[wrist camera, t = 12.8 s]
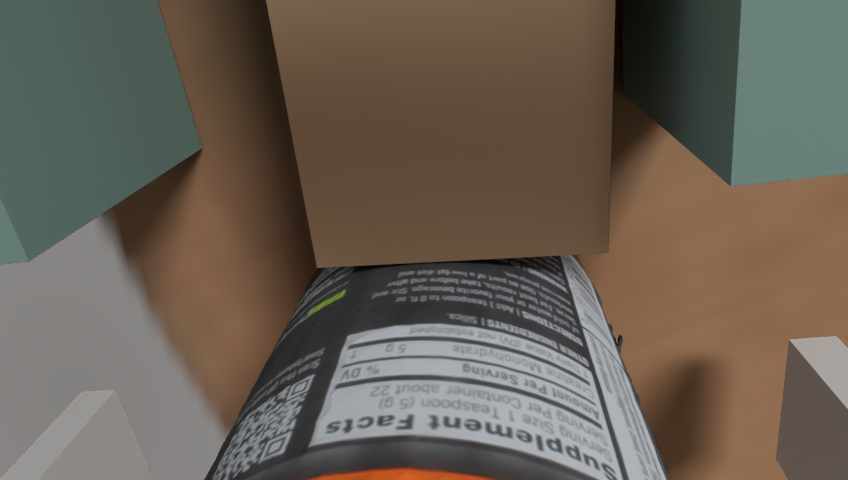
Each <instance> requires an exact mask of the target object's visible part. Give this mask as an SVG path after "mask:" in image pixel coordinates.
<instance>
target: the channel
mask: <svg viewBox="0 0 848 480" xmlns="http://www.w3.org/2000/svg"><path fill="white" fill-rule="evenodd" d="M622 24H623V90H624V94H625V95H626V96H627V97H628V98H629V99H630V100H632V101H633V102H634V103H635V104H636V105H637V106H638V107H640V108H641V109H642V110H643V111H644V112H645V113H647V114H648V115H649V116H650V117H651V118H652V119H653V120H655V121H656V122H657V123H658V124H659V125H660V126H662V127H663V128H664V129H665V130H666V131H667V132H669V133H670V134H671V135H672V136H673V137H674V138H675V139H677V140H678V141H679V142H680V143H681V144H682V145H684V146H685V147H686V148H687V149H688V150H689V151H690V152H692V153H693V154H694V155H695V156H696V157H697V158H699V159H700V160H701V161H702V162H703V163H704V164H706V165H707V166H708V167H709V168H710V169H711V170H712V171H714V172H715V173H716V174H717V175H718V176H719V177H721V178H722V179H723V180H724V181H725V182H726V183H727V184H729V185H730V186H738V185H747V184H757V183H766V182H776V181H785V180H794V179H804V178H813V177H822V176H832V175H841V174H848V0H622ZM200 149H202V146H201V143H200V140H199V136H198V133H197V130H196V127H195V123H194V120H193V117H192V113H191V110H190V107H189V103H188V100H187V97H186V93H185V90H184V87H183V84H182V80H181V77H180V74H179V70H178V67H177V64H176V60H175V57H174V54H173V51H172V47H171V44H170V41H169V37H168V34H167V31H166V27H165V24H164V21H163V17H162V14H161V11H160V8H159V4H158V1H157V0H0V264H9V263H18V262H28V261H30V260H32V259H33V258H35V257H37V256H38V255H40V254H41V253H43V252H44V251H46V250H47V249H49V248H50V247H52V246H53V245H55V244H56V243H58V242H59V241H61V240H62V239H64V238H65V237H67V236H68V235H70V234H72V233H73V232H75V231H76V230H78V229H79V228H81V227H82V226H84V225H85V224H87V223H88V222H90V221H92V220H93V219H95V218H96V217H98V216H99V215H101V214H102V213H104V212H105V211H107V210H108V209H110V208H111V207H113V206H114V205H116V204H118V203H119V202H121V201H122V200H124V199H125V198H127V197H128V196H130V195H131V194H133V193H134V192H136V191H137V190H139V189H140V188H142V187H143V186H145V185H147V184H148V183H150V182H151V181H153V180H154V179H156V178H157V177H159V176H160V175H162V174H163V173H165V172H166V171H168V170H169V169H171V168H173V167H174V166H176V165H177V164H179V163H180V162H182V161H183V160H185V159H186V158H188V157H189V156H191V155H192V154H194V153H195V152H197V151H199V150H200Z"/></svg>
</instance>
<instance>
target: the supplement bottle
mask: <svg viewBox="0 0 848 480" xmlns="http://www.w3.org/2000/svg"><path fill="white" fill-rule="evenodd" d="M622 340H623V337H622V336H621V335H619V337H618V344H617V343H616V338H615V337H614V336H613V331H612V325H611V324H608V323H607V320H606V318H605V315H604V312H603V307H602V302H601V299H600V297H599V294H598V292H597V290H596V289H595V287H594V285H593V283H592V282H591V280H590V278H589V276H588V274H587V272H586V269H585V267H584V265H583V264H582V262H581V261H580V260H579V258H578V256H577V255H561V256H541V257H522V258H502V259H482V260H463V261H443V262H424V263H404V264H384V265H365V266H345V267H326V268H317V269H316V271H315V273H314V274H313V276H312V278H311V280H310V282H309V284H308V285H307V287H306V289H305V292H304V294H303V296H302V298H301V300H300V301H299V303H298V305H297V307H296V309H295V311H294V313H293V314H292V316H291V318H290V320H289V322H288V324H287V326H286V328H285V330H284V331H283V333H282V335H281V337H280V338H279V340H278V342H277V344H276V346H275V348H274V350H273V352H272V354H271V356H270V358H269V359H268V361H267V363H266V364H265V366H264V368H263V370H262V372H261V374H260V376H259V378H258V380H257V382H256V383H255V385H254V387H253V388H252V390H251V393H250V394H249V396H248V398H247V400H246V402H245V404H244V406H243V407H242V409H241V411H240V414H239V416H238V418H237V420H236V422H235V424H234V426H233V428H232V429H231V431H230V433H229V435H228V436H227V438H226V440H225V442H224V443H223V445H222V447H221V449H220V451H219V453H218V456H217V458H216V460H215V462H214V464H213V465H212V467H211V469H210V471H209V472H208V474H207V476H206V478H205V480H669V478H668V476H667V469H666V465H665V463H664V461H663V459H662V457H661V455H660V453H659V451H658V447H657V443H656V438H655V436H654V434H653V432H652V430H651V428H650V426H649V424H648V422H647V421H646V419H645V415H644V413H643V411H642V409H641V407H640V401H639V397H638V395H637V393H636V392H635V389H634V386H633V384H632V380H631V378H630V376H629V374H628V372H627V370H626V367H625V365H624V363H623V361H622V358H621V345H622Z"/></svg>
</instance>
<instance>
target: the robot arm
mask: <svg viewBox="0 0 848 480" xmlns="http://www.w3.org/2000/svg"><path fill="white" fill-rule="evenodd" d="M776 460H777V462H778V463H779V465H780V466H781V468H782V470H783V471H784V473H785V475H786V476H787V478H788V480H848V348H847V347H846V346H845V345H844V344H843V343H842V342H841V341H840V340H839V339H838V338H837V337H836V336H830V337H817V338H803V339H790V340H789V345H788V355H787V364H786V373H785V382H784V391H783V400H782V409H781V418H780V427H779V436H778V446H777V455H776ZM0 480H154V478H153V476H152V473H151V471H150V468H149V466H148V464H147V461H146V459H145V457H144V455H143V452H142V450H141V448H140V445H139V443H138V441H137V438H136V436H135V434H134V431H133V429H132V427H131V424H130V422H129V420H128V418H127V415H126V413H125V410H124V408H123V406H122V403H121V401H120V399H119V396H118V394H117V392H116V390H102V391H89V392H81V393H80V394H79V395H78V396H77V397H76V398H75V399H74V401H73V402H72V403H71V404H70V405H69V406H68V407H67V408H66V409H65V410H64V411H63V412H62V414H60V415H59V417H58V418H57V419H56V420H55V421H54V422H53V423H52V424H51V425H50V426H49V427H48V428H47V429H46V430H45V431H44V433H43V434H42V435H41V436H40V437H39V438H38V439H37V440H36V441H35V442H34V443H33V444H32V445H31V446H30V447H29V449H28V450H27V451H26V452H25V453H24V454H23V455H22V456H21V457H20V458H19V459H18V460H17V461H16V463H15V464H14V465H13V466H12V467H11V468H10V469H9V470H8V471H7V472H6V473H5V474H4V475H3V476H2V477H1V478H0Z"/></svg>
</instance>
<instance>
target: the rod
mask: <svg viewBox="0 0 848 480" xmlns="http://www.w3.org/2000/svg"><path fill="white" fill-rule="evenodd" d="M266 3H267V8H268V13H269V19H270V24H271V29H272V34H273V40H274V45H275V50H276V55H277V61H278V66H279V71H280V76H281V82H282V87H283V92H284V97H285V103H286V108H287V113H288V118H289V124H290V129H291V134H292V139H293V145H294V150H295V155H296V160H297V166H298V171H299V176H300V181H301V187H302V192H303V197H304V202H305V208H306V213H307V218H308V223H309V229H310V234H311V239H312V244H313V250H314V255H315V260H316V265H317V268H326V267H345V266H365V265H384V264H404V263H424V262H443V261H463V260H482V259H502V258H522V257H541V256H561V255H580V254H600V253H608V250H609V214H610V179H611V143H612V107H613V72H614V36H615V0H266Z"/></svg>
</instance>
